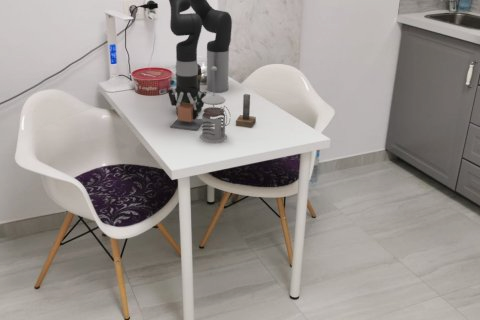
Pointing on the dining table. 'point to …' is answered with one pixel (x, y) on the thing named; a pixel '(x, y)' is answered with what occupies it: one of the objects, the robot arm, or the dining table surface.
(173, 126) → the mat
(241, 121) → the post stand
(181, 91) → the robot arm
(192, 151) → the dining table surface
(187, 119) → the orange cube
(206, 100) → the french press
